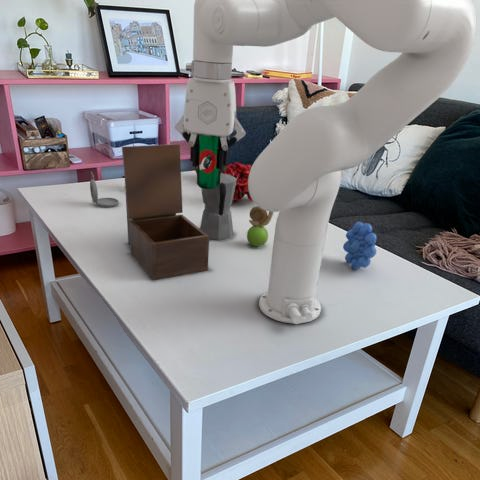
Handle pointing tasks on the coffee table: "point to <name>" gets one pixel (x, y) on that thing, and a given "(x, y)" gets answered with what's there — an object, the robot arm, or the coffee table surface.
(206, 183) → the soda can
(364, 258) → the grapes
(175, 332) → the coffee table surface
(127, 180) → the lid
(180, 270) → the chest
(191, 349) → the coffee table surface
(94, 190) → the pocket watch
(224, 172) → the carnation
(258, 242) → the snail figurine
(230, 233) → the coffeepot
